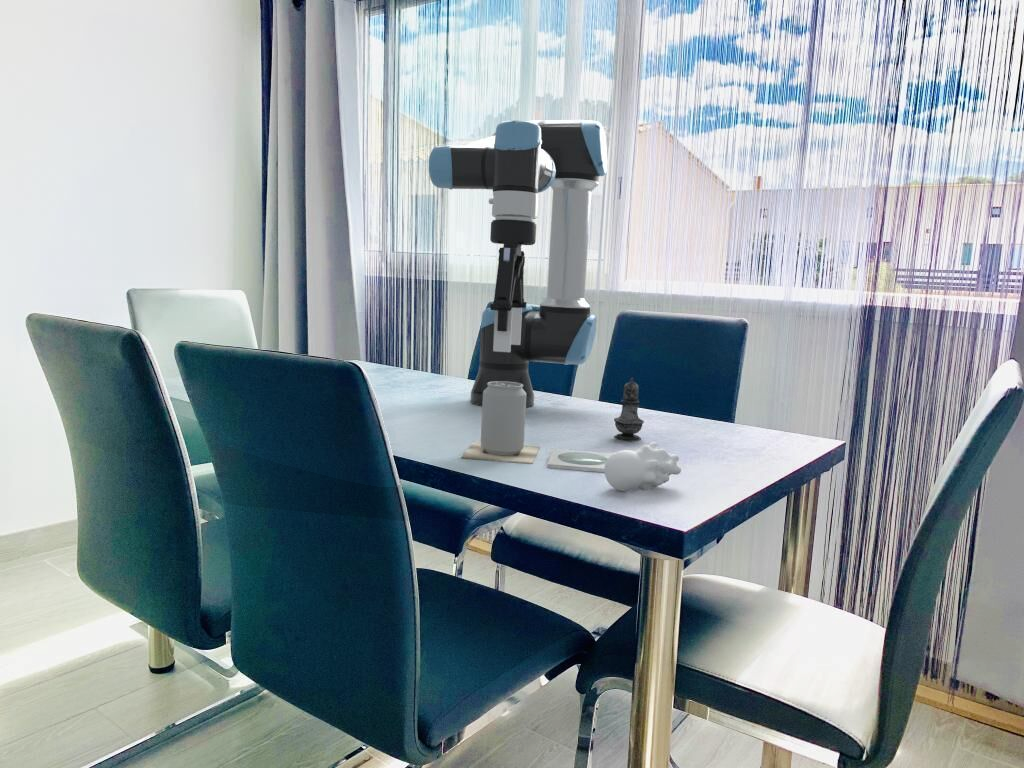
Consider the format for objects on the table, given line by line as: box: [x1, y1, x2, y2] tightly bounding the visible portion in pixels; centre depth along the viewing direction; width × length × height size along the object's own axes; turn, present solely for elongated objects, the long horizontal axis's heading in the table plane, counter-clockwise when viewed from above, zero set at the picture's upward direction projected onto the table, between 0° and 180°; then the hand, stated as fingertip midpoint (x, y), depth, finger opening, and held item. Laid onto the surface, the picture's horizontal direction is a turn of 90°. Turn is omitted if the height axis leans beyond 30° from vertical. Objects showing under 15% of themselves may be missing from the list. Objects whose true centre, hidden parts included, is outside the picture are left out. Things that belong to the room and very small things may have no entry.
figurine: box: [603, 441, 682, 492], centre depth 112 cm, size 7×7×12 cm
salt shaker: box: [613, 377, 645, 442], centre depth 146 cm, size 6×6×12 cm
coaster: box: [546, 448, 615, 473], centre depth 126 cm, size 11×11×1 cm
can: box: [480, 381, 527, 455], centre depth 129 cm, size 8×8×12 cm
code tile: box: [460, 441, 540, 465], centre depth 130 cm, size 12×12×1 cm
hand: (507, 348), depth 127 cm, fingers open, 13 cm apart
